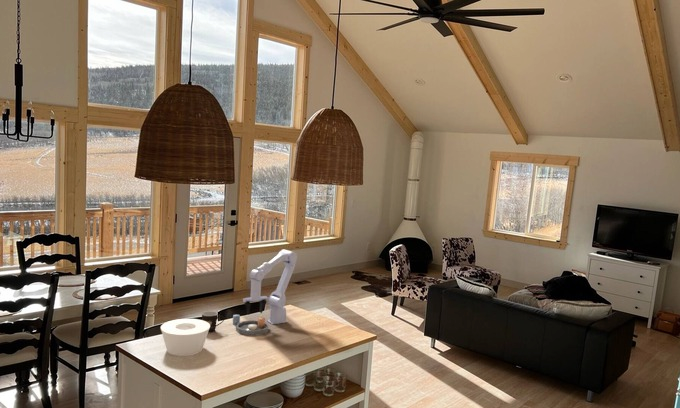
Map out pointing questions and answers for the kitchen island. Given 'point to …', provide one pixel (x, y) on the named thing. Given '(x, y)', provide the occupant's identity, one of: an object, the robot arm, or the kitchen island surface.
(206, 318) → the coffee mug
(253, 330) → the groove tray
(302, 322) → the kitchen island surface
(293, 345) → the kitchen island surface
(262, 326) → the terracotta bead
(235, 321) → the slate bead
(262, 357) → the kitchen island surface
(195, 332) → the bowl
